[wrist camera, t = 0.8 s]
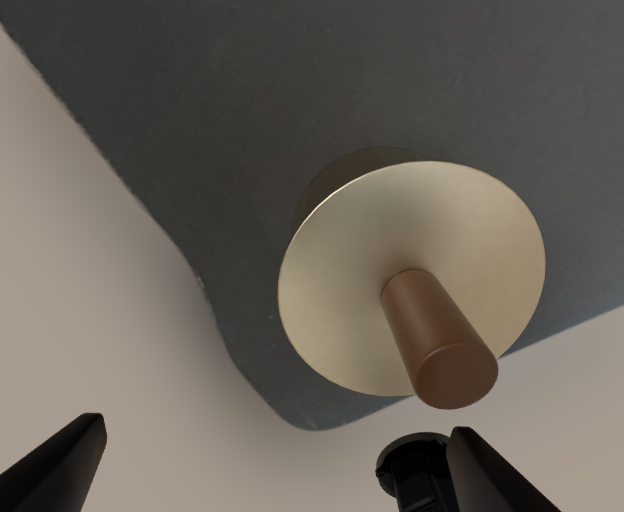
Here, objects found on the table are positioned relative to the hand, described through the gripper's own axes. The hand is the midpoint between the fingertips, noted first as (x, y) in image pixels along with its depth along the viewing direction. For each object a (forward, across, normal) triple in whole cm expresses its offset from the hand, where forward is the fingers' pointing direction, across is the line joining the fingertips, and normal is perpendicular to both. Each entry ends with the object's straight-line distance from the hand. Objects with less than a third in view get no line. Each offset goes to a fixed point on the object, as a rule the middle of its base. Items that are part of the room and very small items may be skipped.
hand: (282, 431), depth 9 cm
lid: (+6, -5, -1) cm, 8 cm away
